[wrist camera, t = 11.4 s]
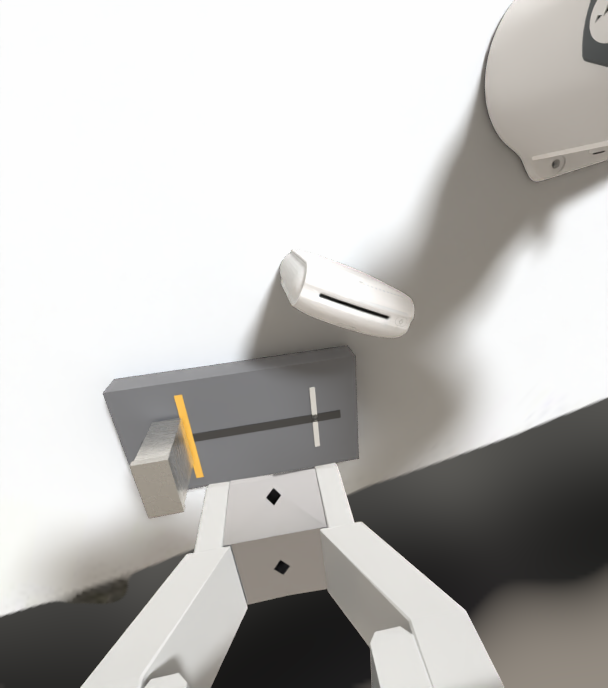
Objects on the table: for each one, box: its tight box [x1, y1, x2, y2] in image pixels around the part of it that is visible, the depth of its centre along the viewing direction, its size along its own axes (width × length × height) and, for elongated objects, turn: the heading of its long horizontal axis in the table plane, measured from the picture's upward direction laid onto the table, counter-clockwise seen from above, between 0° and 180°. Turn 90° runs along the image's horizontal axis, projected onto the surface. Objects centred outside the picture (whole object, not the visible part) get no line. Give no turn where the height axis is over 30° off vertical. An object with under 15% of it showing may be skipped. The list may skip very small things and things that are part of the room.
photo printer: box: [280, 250, 415, 338], centre depth 30 cm, size 10×4×12 cm, turn 70°
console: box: [103, 346, 359, 489], centre depth 38 cm, size 26×14×3 cm, turn 95°
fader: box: [130, 418, 194, 518], centre depth 33 cm, size 3×6×7 cm, turn 5°
